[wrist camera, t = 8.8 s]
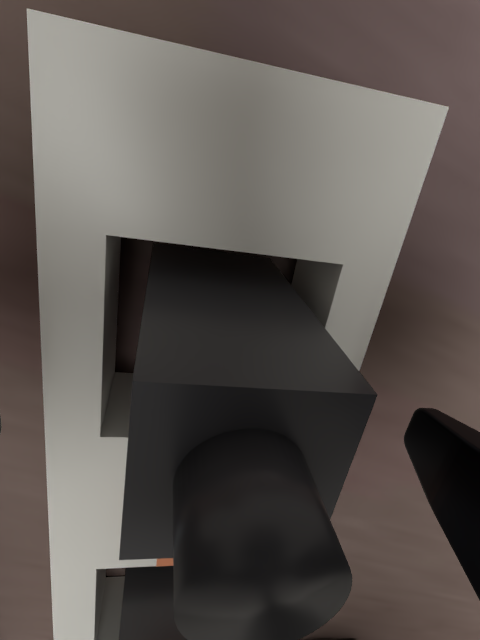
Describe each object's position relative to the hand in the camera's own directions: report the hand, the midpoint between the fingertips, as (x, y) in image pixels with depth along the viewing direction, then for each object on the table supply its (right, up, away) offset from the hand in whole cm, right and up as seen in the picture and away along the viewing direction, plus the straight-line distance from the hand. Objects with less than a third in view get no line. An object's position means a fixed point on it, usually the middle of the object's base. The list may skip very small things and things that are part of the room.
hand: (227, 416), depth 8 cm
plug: (-1, +3, +6) cm, 6 cm away
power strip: (-2, -3, +8) cm, 9 cm away
